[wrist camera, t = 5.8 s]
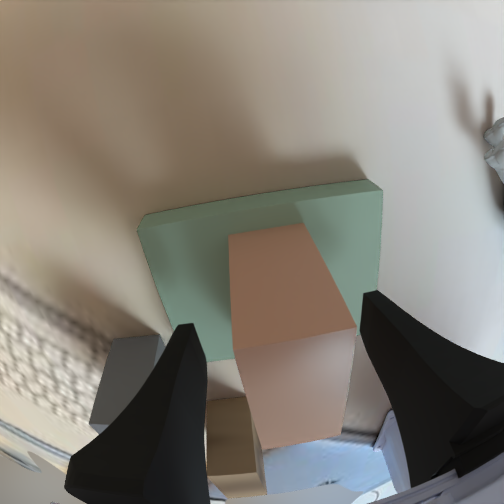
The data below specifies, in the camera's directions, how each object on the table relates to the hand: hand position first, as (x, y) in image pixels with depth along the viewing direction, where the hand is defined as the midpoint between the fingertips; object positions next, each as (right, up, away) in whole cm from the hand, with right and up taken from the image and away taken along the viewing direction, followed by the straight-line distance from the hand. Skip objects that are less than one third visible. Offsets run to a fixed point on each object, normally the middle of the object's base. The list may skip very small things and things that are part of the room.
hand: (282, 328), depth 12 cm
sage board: (0, +2, +3) cm, 4 cm away
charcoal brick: (-7, -4, +6) cm, 11 cm away
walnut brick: (-2, -10, +10) cm, 14 cm away
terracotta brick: (0, +1, +2) cm, 2 cm away
